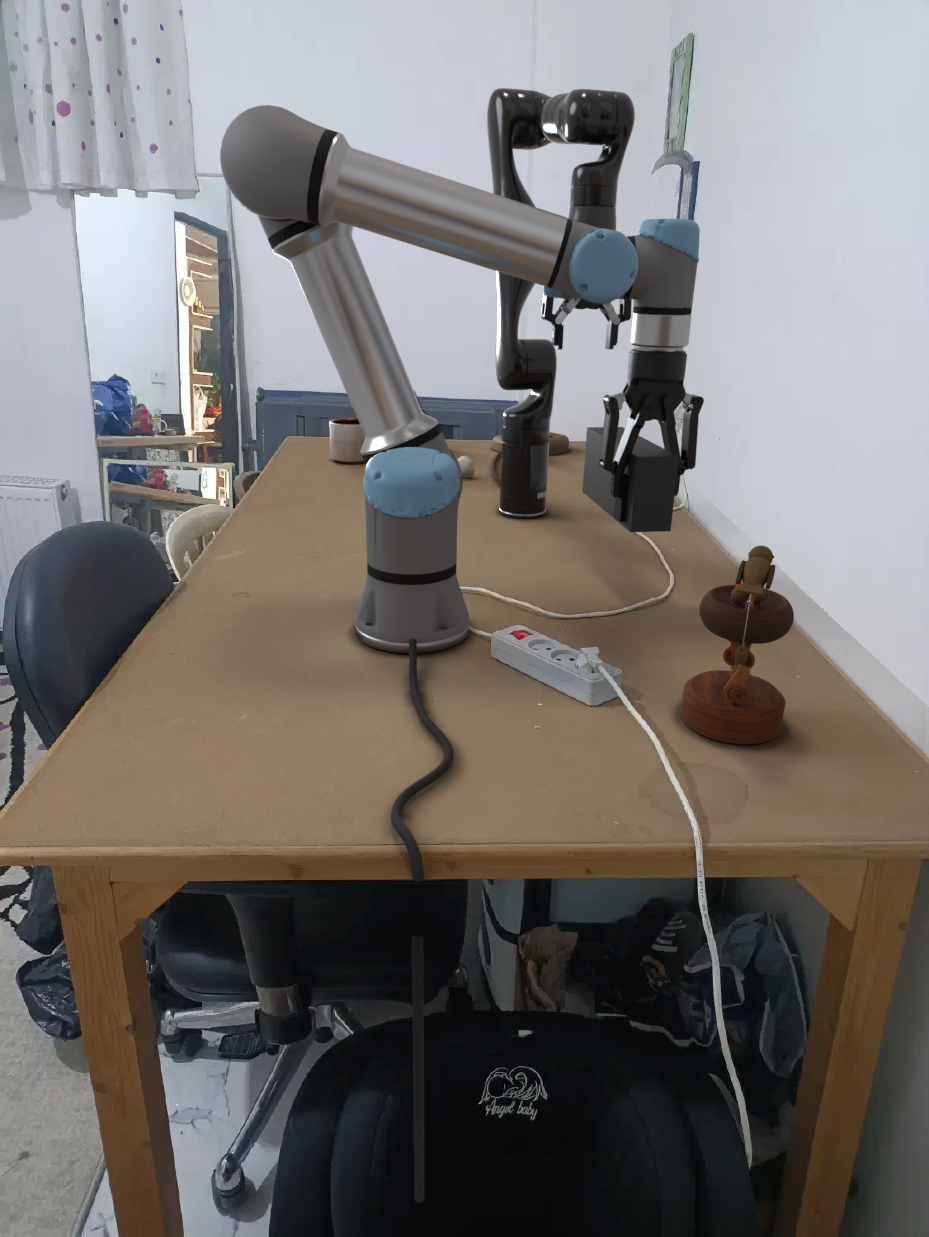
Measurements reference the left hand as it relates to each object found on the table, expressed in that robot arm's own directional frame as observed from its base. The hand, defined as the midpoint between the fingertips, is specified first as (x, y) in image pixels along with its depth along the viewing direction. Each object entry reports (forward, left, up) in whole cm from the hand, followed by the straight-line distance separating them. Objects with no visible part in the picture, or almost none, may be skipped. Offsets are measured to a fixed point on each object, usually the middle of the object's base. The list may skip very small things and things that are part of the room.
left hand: (641, 518), depth 120 cm
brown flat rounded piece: (+107, +18, -13) cm, 109 cm away
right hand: (+26, +9, +21) cm, 34 cm away
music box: (-35, -7, -13) cm, 38 cm away
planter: (+91, +63, -13) cm, 111 cm away
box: (+8, +2, -1) cm, 8 cm away
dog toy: (+74, +41, -13) cm, 86 cm away
